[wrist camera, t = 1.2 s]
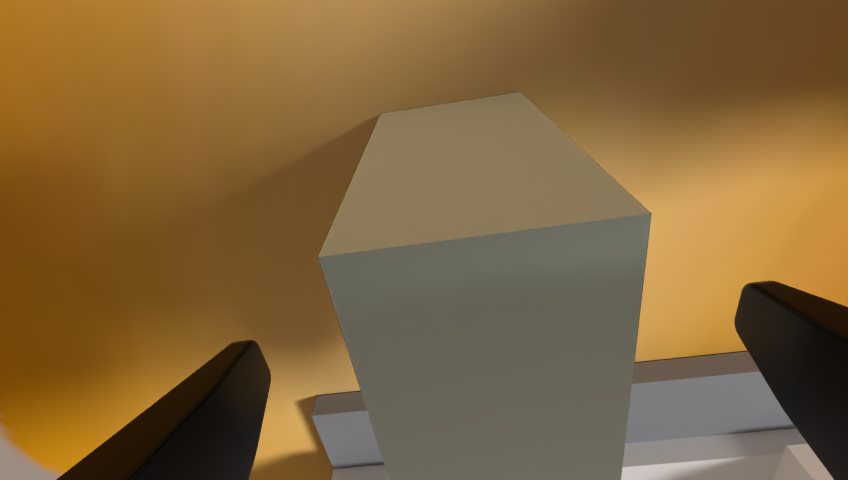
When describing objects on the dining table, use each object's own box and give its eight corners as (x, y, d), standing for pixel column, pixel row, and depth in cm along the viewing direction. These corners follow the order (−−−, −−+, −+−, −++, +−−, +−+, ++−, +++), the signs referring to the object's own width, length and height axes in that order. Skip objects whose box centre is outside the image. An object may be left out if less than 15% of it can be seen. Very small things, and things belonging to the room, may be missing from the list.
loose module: (520, 92, 12) (651, 213, 5) (527, 269, 15) (618, 506, 8) (380, 113, 12) (317, 257, 5) (414, 283, 15) (403, 523, 8)
